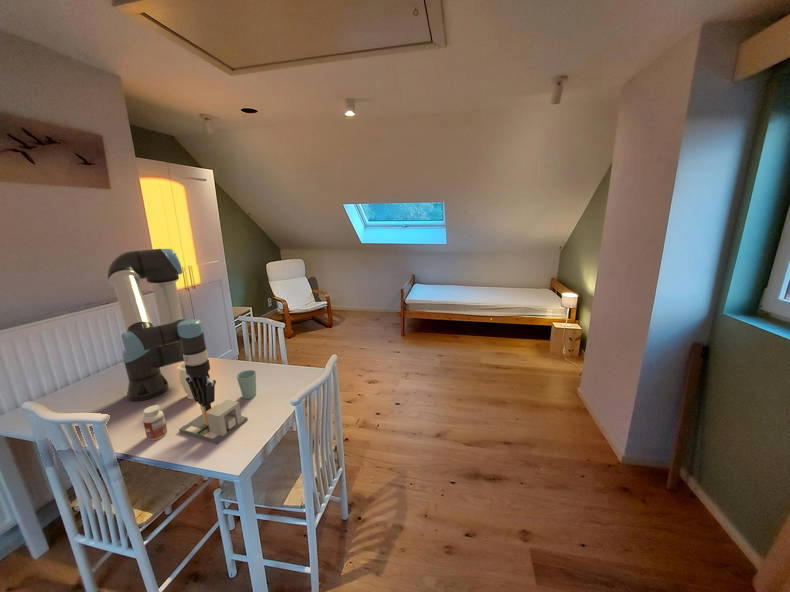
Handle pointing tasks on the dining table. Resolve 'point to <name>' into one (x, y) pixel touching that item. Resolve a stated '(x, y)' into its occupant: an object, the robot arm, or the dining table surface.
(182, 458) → the dining table surface
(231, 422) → the plunger
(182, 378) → the jar
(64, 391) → the dining table surface
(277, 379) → the dining table surface
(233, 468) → the dining table surface
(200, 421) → the board
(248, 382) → the cup
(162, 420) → the pill bottle
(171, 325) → the robot arm
